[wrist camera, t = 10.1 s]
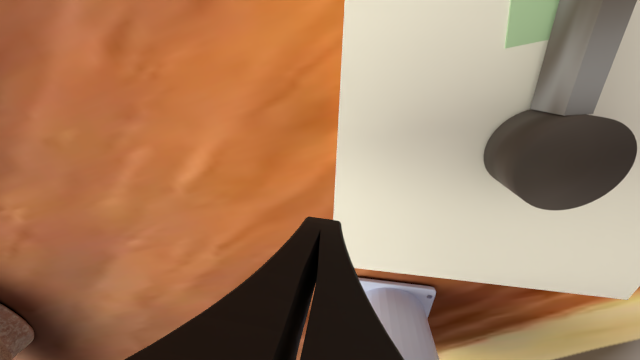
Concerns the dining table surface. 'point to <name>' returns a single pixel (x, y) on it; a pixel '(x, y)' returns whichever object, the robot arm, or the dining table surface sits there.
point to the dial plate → (470, 149)
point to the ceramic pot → (13, 334)
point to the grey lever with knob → (568, 115)
